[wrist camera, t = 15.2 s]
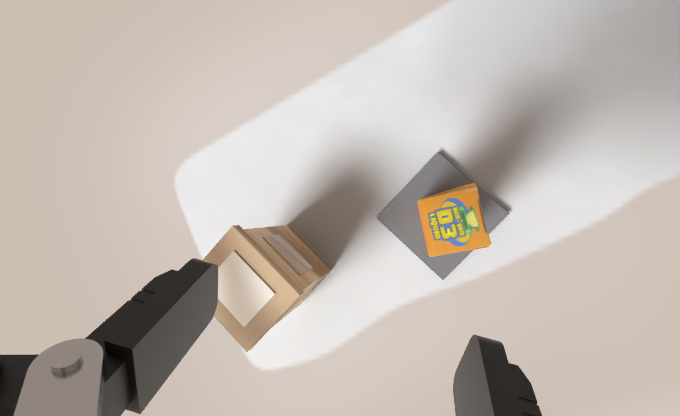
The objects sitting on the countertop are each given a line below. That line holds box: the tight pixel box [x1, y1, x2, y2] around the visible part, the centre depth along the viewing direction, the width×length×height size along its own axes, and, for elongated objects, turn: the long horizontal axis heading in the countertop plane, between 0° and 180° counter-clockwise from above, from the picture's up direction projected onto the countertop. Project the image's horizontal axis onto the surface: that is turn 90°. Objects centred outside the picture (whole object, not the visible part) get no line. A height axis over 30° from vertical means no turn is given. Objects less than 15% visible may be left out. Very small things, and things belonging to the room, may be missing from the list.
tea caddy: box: [202, 225, 331, 352], centre depth 26 cm, size 5×6×9 cm
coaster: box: [377, 153, 509, 280], centre depth 28 cm, size 7×7×1 cm
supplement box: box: [418, 183, 491, 257], centre depth 22 cm, size 3×3×10 cm
